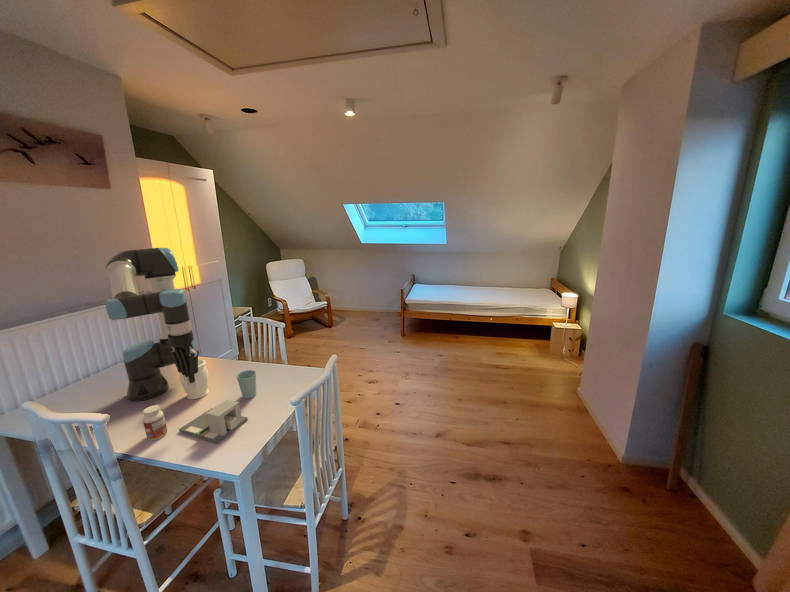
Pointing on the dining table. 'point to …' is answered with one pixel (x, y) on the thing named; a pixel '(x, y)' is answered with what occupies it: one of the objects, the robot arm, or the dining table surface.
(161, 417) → the pill bottle
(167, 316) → the robot arm
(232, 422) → the plunger
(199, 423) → the board
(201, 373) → the jar
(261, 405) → the dining table surface
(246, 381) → the cup
